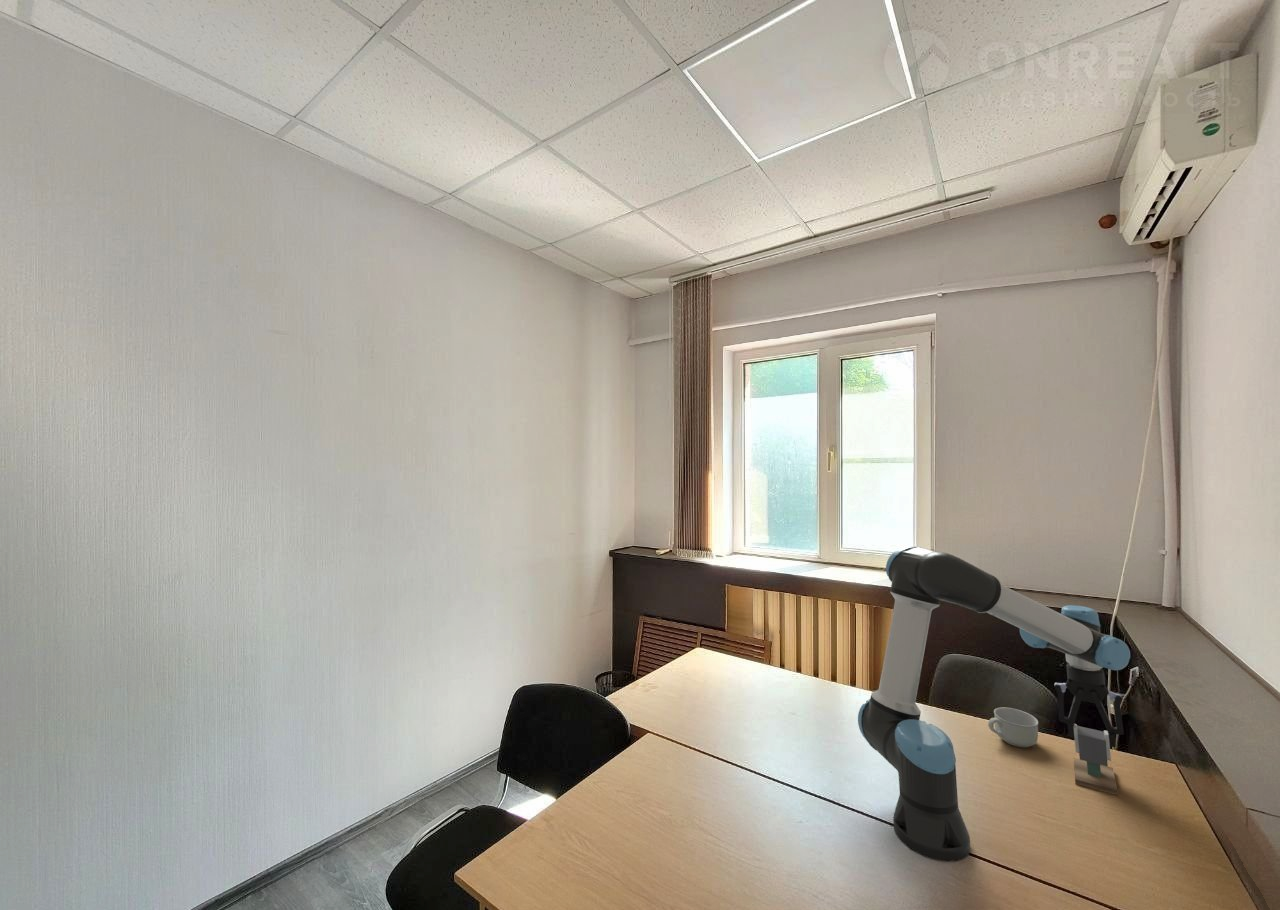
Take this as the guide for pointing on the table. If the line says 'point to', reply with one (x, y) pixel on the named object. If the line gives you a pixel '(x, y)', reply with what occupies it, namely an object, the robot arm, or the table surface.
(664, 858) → the table surface
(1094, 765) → the stand
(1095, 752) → the grey upright block
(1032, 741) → the teacup
